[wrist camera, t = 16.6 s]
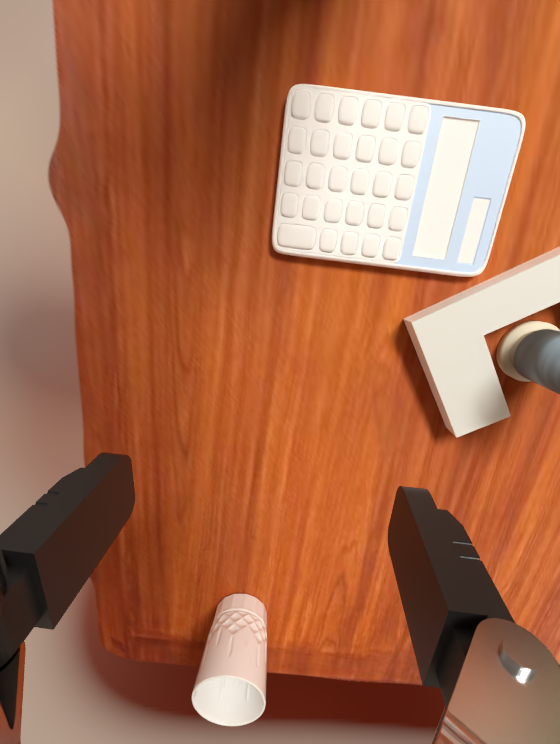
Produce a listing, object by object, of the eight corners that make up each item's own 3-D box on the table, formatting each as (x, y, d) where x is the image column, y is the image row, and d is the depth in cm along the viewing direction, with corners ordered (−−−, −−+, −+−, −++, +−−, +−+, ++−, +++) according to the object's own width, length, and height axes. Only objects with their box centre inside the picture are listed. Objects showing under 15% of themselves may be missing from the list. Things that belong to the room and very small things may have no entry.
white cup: (204, 594, 45) (181, 682, 35) (261, 584, 44) (253, 671, 35) (222, 637, 47) (205, 730, 38) (277, 628, 46) (273, 721, 37)
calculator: (287, 89, 29) (287, 77, 27) (520, 118, 29) (535, 108, 27) (270, 253, 33) (269, 252, 31) (475, 278, 33) (486, 279, 31)
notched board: (403, 318, 34) (411, 322, 31) (615, 220, 31) (642, 216, 28) (445, 426, 37) (456, 437, 34) (641, 348, 34) (668, 353, 31)
